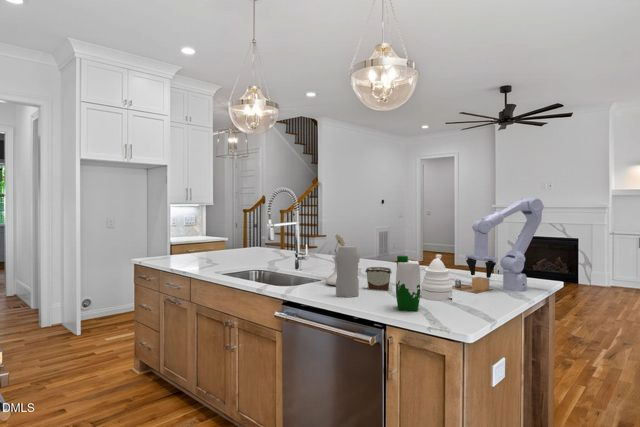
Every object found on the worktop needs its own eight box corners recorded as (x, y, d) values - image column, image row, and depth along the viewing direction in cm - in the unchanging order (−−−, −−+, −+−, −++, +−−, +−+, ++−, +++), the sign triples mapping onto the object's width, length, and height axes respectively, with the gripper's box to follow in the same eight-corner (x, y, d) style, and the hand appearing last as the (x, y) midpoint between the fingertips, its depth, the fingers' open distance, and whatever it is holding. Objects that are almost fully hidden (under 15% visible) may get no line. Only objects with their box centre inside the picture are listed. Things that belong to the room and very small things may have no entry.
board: (493, 292, 182) (493, 289, 182) (476, 296, 173) (476, 293, 173) (462, 286, 195) (462, 283, 195) (444, 290, 186) (444, 287, 186)
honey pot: (427, 292, 181) (427, 252, 181) (456, 296, 174) (456, 255, 173) (416, 297, 171) (417, 255, 170) (446, 302, 163) (447, 258, 163)
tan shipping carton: (489, 289, 182) (489, 278, 182) (482, 291, 179) (483, 279, 179) (478, 287, 187) (478, 276, 186) (471, 288, 183) (472, 278, 183)
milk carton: (395, 305, 158) (396, 254, 158) (419, 306, 157) (419, 255, 156) (395, 311, 150) (396, 257, 149) (420, 312, 148) (421, 258, 148)
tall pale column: (335, 297, 170) (335, 246, 170) (334, 295, 175) (334, 245, 174) (360, 297, 171) (360, 245, 171) (358, 295, 175) (358, 244, 175)
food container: (393, 288, 189) (393, 267, 189) (391, 291, 183) (391, 269, 183) (367, 286, 193) (368, 266, 193) (365, 289, 187) (365, 268, 187)
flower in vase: (349, 287, 192) (349, 235, 191) (325, 287, 192) (325, 234, 191) (347, 281, 205) (348, 233, 204) (325, 281, 205) (325, 232, 204)
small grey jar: (462, 287, 185) (462, 279, 185) (458, 288, 184) (459, 280, 184) (457, 286, 187) (457, 278, 187) (453, 287, 186) (454, 279, 186)
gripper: (461, 245, 185) (461, 274, 186) (491, 248, 174) (491, 279, 174) (470, 244, 190) (469, 273, 190) (500, 247, 178) (499, 277, 179)
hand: (480, 276), depth 183 cm, fingers open, 7 cm apart
